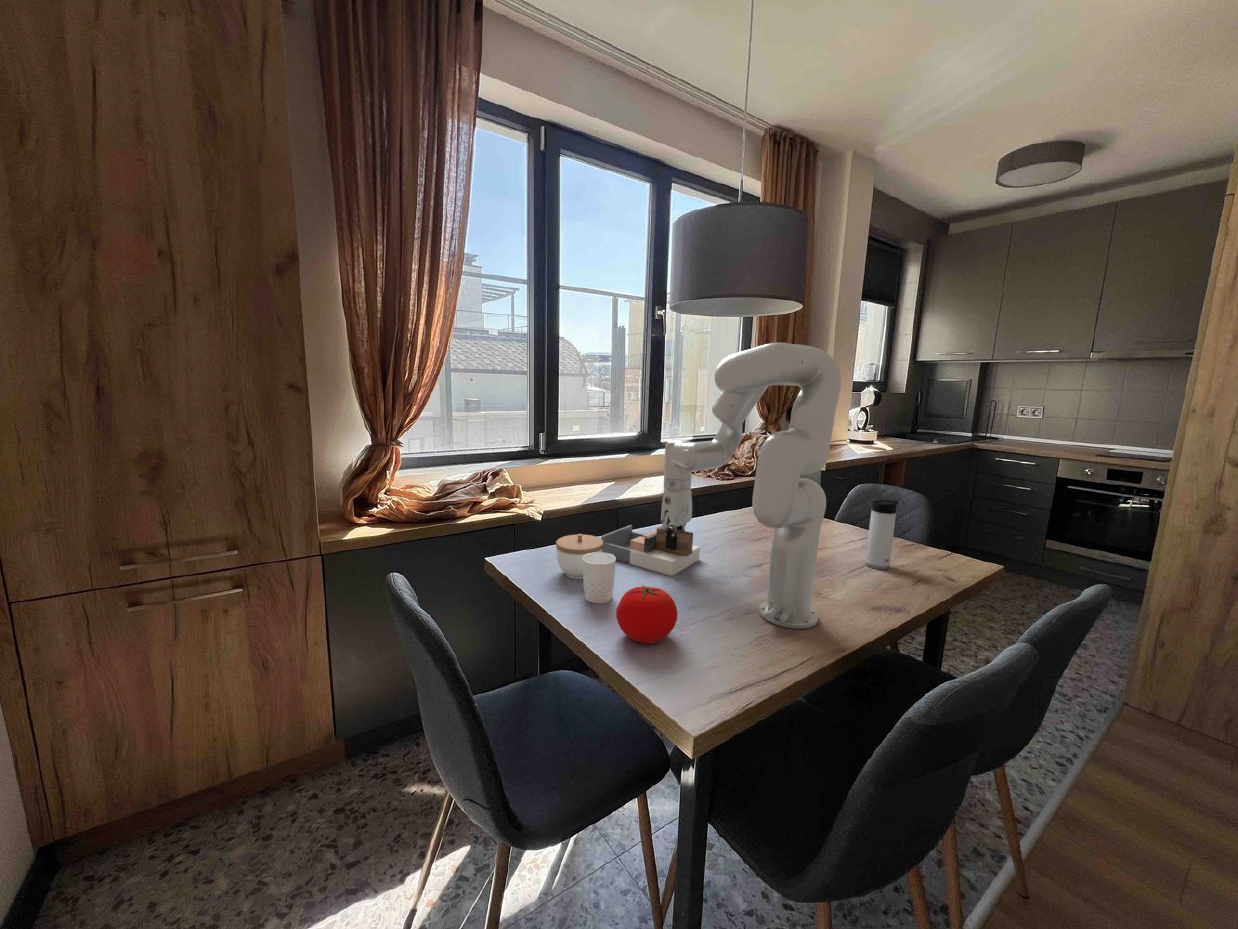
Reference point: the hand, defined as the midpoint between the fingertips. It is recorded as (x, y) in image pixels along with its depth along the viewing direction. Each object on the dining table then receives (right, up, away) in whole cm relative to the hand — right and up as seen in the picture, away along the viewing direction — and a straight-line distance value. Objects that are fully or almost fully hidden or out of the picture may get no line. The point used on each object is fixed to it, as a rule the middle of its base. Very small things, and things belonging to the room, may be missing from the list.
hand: (674, 546), depth 137 cm
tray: (-13, -4, +10) cm, 17 cm away
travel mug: (+60, -7, +5) cm, 61 cm away
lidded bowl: (-26, -6, -7) cm, 28 cm away
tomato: (-10, -12, -38) cm, 41 cm away
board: (-2, -5, +4) cm, 7 cm away
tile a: (-9, -1, +3) cm, 10 cm away
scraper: (0, -1, 0) cm, 1 cm away
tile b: (-5, 0, +8) cm, 10 cm away
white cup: (-21, -9, -21) cm, 31 cm away
